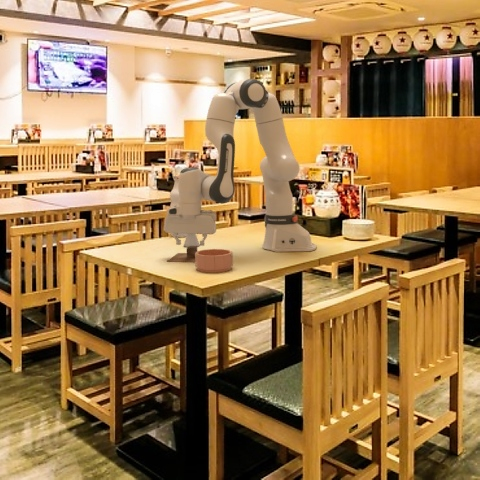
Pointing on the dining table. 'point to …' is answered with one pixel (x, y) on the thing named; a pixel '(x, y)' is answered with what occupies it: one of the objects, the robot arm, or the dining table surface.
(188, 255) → the lid
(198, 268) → the bowl
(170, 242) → the dining table surface
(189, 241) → the flask
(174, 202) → the fruit juice
